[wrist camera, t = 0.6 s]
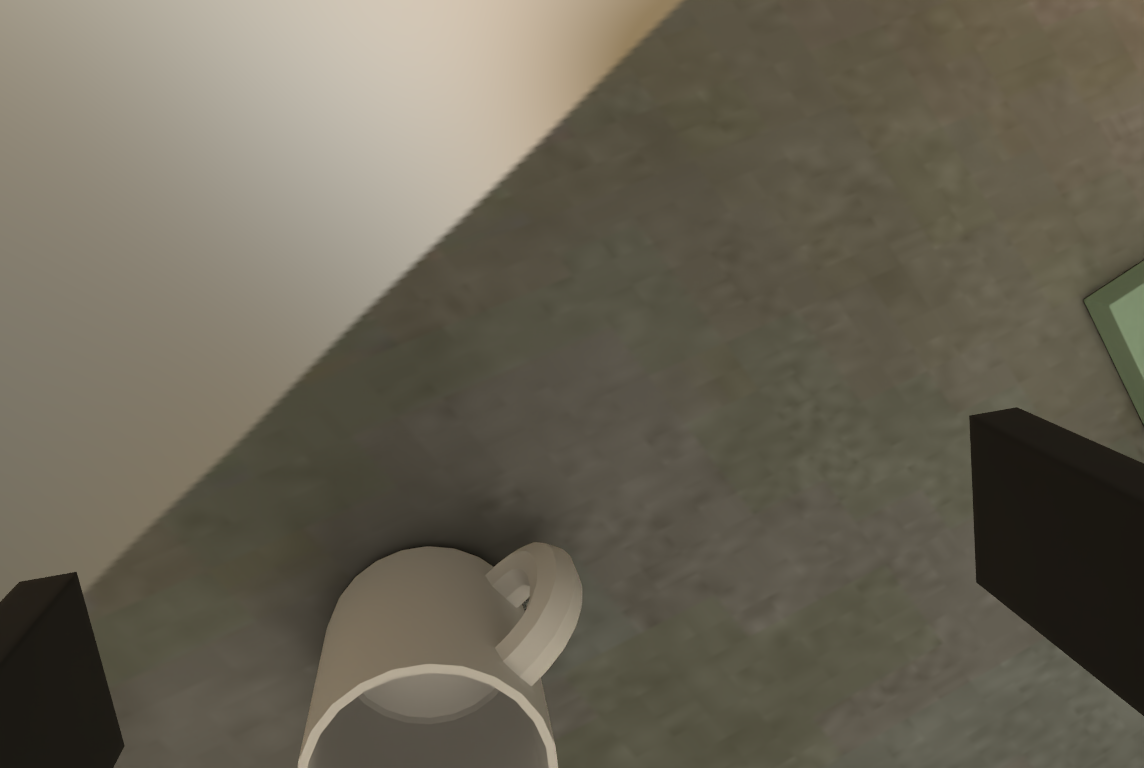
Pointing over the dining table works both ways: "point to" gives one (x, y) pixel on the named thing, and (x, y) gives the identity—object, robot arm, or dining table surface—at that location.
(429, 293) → the dining table surface
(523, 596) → the cup
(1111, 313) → the coffee maker
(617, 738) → the dining table surface
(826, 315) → the dining table surface
